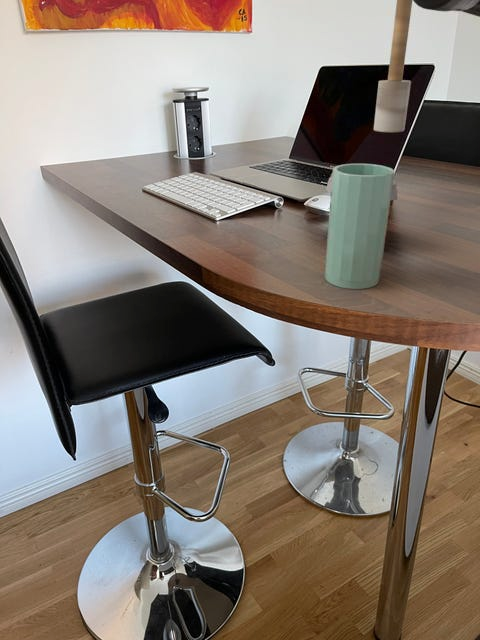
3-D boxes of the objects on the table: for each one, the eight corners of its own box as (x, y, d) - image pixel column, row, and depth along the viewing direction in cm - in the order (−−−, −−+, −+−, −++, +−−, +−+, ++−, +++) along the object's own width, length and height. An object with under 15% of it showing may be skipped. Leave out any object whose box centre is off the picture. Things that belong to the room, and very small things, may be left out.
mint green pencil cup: (373, 268, 68) (387, 163, 62) (383, 289, 62) (399, 176, 56) (322, 267, 69) (330, 163, 62) (327, 288, 63) (336, 176, 56)
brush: (400, 128, 69) (424, -51, 59) (407, 132, 65) (433, -57, 56) (371, 128, 69) (390, -50, 59) (376, 132, 65) (397, -56, 56)
